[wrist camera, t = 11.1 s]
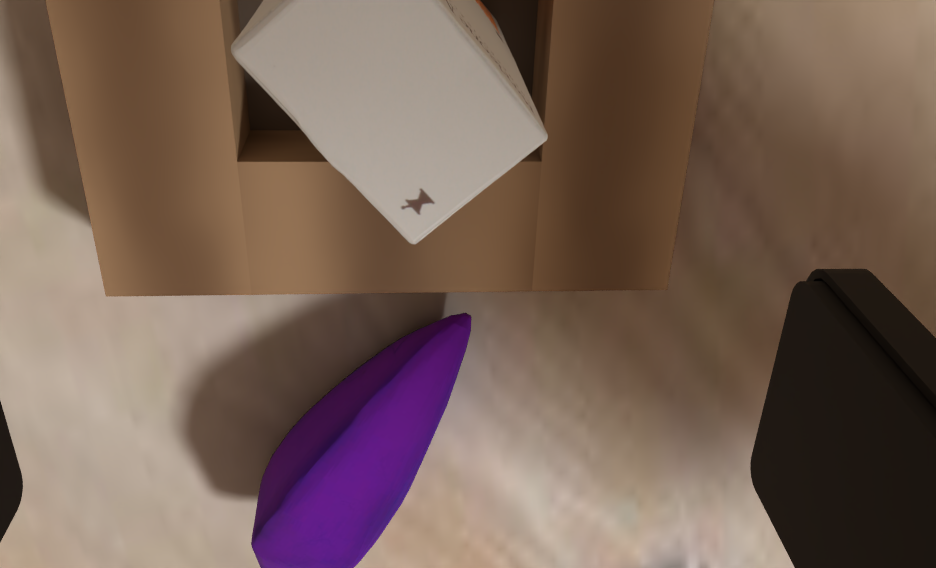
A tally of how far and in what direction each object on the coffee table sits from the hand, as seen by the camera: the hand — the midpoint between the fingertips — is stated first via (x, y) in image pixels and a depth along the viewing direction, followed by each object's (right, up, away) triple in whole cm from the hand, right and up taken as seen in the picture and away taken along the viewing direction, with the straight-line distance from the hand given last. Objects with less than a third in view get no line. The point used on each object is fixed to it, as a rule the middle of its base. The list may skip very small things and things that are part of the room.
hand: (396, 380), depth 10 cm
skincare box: (-2, +11, +19) cm, 22 cm away
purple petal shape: (-4, -5, +28) cm, 29 cm away
